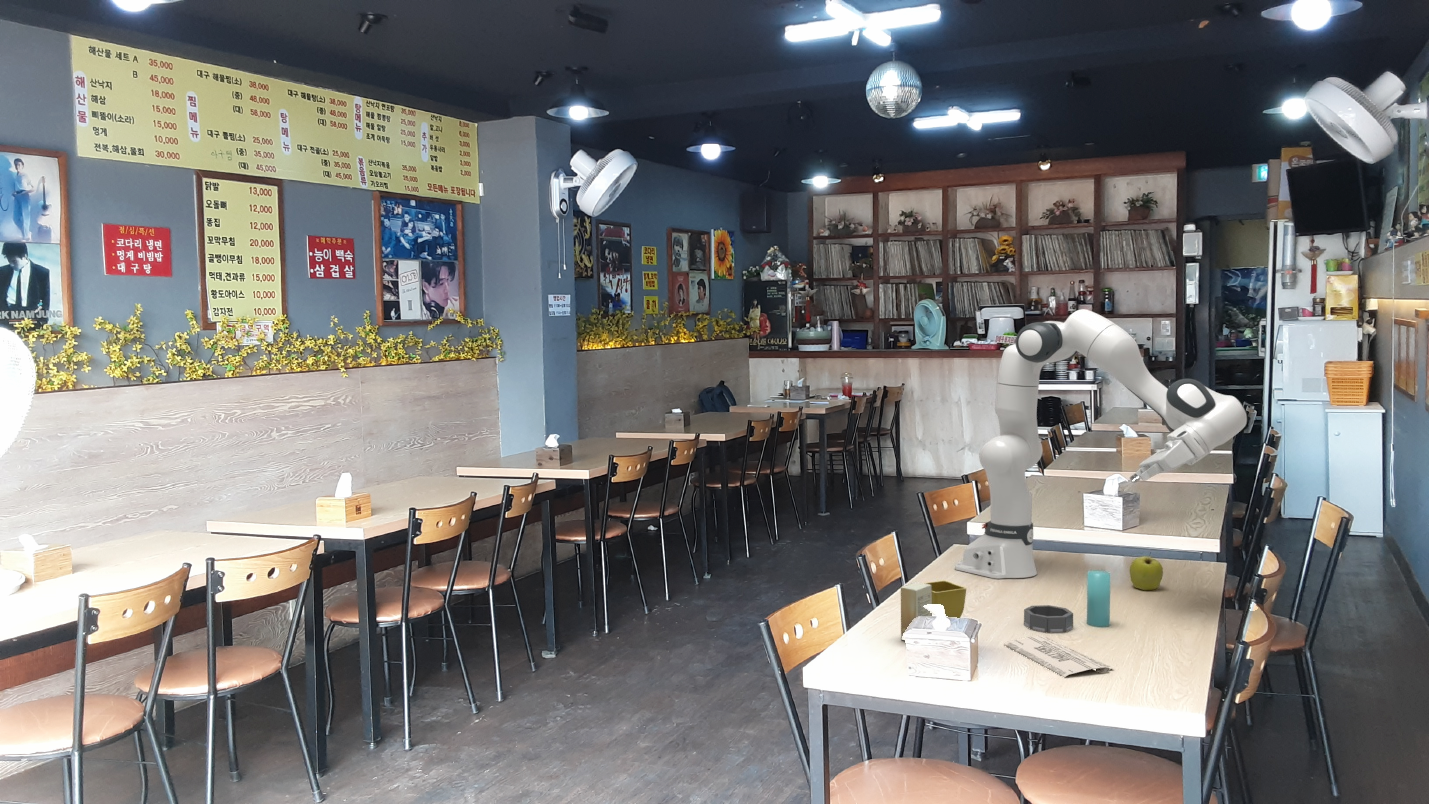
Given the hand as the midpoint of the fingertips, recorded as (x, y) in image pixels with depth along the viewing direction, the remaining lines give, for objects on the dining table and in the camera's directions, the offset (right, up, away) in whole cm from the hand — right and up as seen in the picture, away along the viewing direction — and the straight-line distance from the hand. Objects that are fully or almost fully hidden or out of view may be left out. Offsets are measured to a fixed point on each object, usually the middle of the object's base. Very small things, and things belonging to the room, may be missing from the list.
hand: (1136, 479), depth 249 cm
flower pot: (-48, -33, -6) cm, 59 cm away
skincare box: (-56, -34, -18) cm, 68 cm away
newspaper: (-29, -36, -31) cm, 56 cm away
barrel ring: (-24, -33, -9) cm, 42 cm away
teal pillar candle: (-12, -33, -8) cm, 36 cm away
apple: (+12, -30, +23) cm, 40 cm away
